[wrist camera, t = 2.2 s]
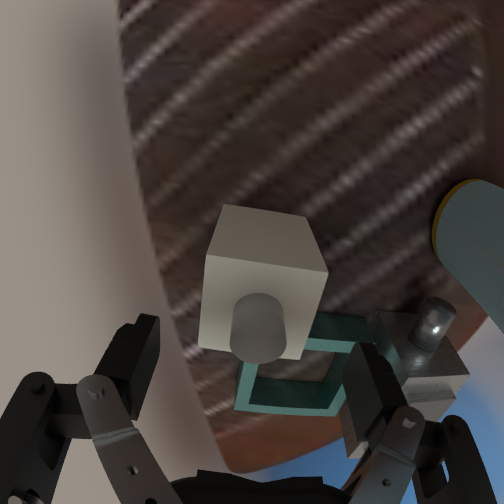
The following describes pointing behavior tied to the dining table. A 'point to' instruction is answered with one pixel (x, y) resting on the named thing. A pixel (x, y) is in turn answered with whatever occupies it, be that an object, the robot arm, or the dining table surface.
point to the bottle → (474, 242)
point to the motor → (387, 344)
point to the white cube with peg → (260, 285)
